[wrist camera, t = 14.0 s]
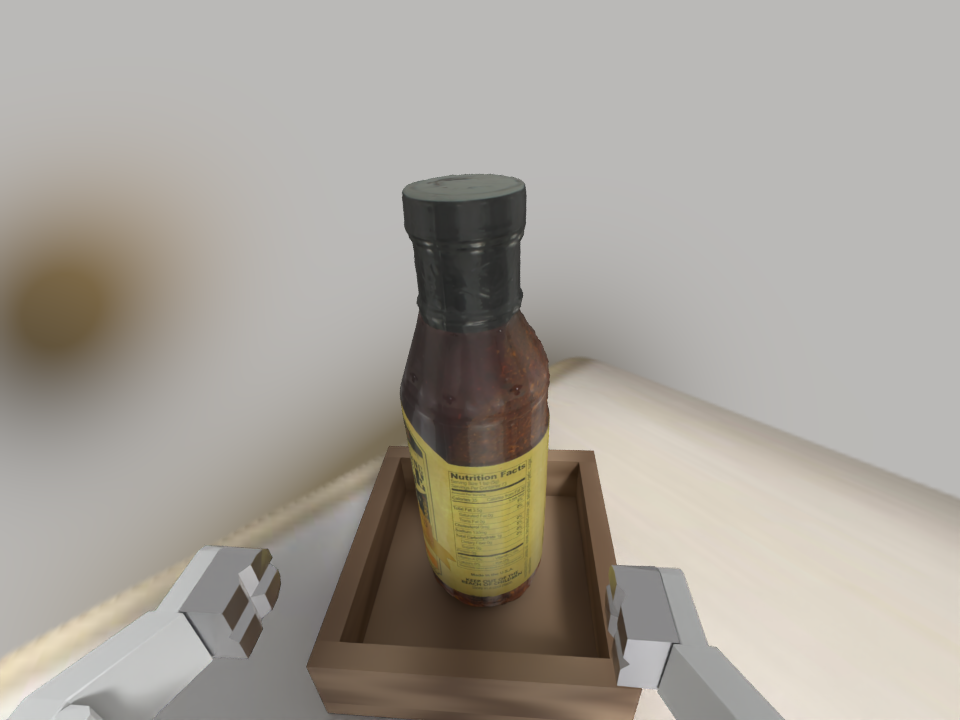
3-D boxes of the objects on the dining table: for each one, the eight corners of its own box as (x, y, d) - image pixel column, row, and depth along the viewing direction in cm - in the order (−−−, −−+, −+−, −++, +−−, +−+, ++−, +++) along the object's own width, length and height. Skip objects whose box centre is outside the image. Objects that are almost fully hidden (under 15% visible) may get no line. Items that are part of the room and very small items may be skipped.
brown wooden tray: (588, 496, 30) (593, 450, 28) (628, 736, 19) (642, 689, 17) (397, 490, 31) (388, 446, 29) (327, 712, 20) (306, 666, 18)
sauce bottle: (448, 508, 28) (413, 167, 18) (548, 526, 27) (569, 165, 17) (410, 608, 23) (328, 197, 13) (533, 637, 21) (549, 198, 11)
